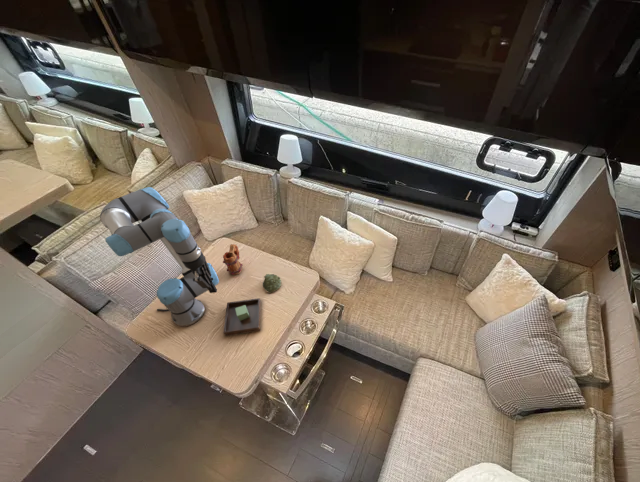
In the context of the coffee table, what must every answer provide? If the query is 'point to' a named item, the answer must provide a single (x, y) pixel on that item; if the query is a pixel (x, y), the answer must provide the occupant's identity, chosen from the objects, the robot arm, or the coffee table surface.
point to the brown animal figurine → (232, 260)
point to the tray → (246, 325)
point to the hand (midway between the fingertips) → (213, 291)
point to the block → (242, 312)
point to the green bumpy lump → (271, 282)
